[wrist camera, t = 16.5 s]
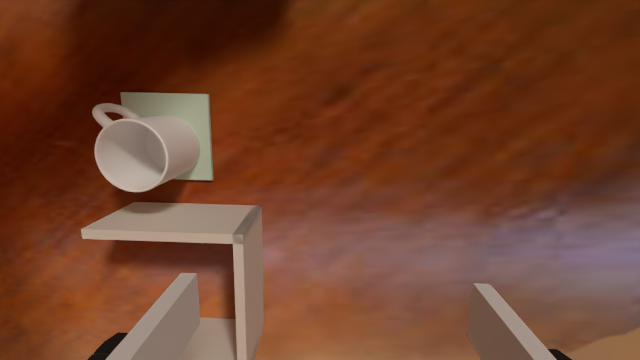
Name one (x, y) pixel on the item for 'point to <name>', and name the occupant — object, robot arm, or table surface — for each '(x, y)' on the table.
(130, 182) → the cup
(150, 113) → the mat
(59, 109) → the table surface
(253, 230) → the cubby
